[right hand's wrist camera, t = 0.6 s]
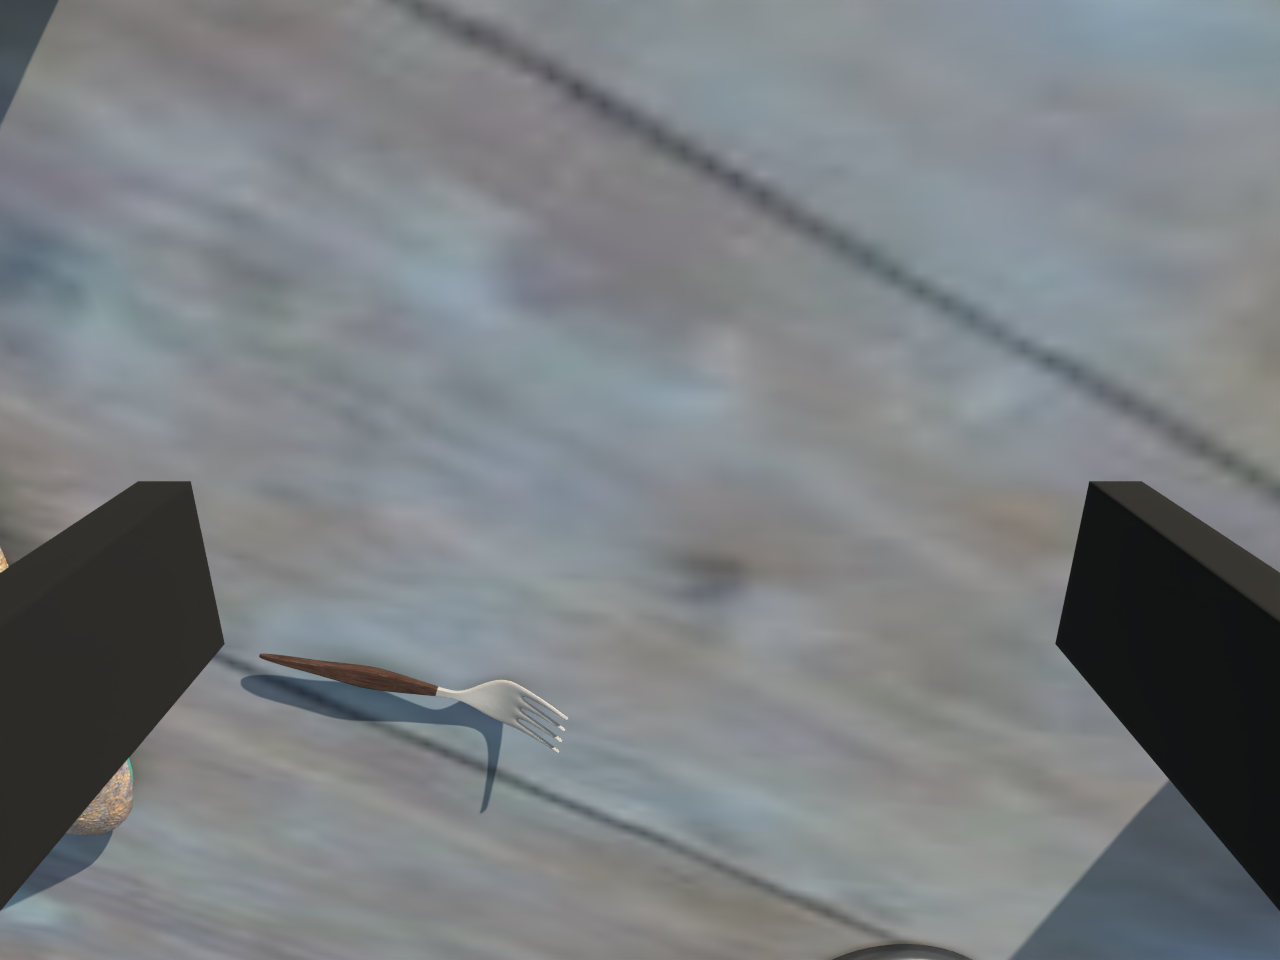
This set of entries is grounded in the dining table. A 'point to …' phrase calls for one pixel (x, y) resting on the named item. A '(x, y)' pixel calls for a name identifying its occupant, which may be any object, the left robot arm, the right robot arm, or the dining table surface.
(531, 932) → the dining table surface
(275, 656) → the fork
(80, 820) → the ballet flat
